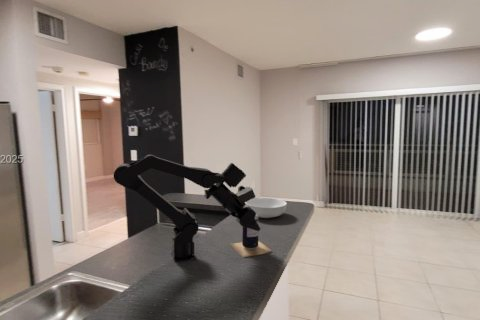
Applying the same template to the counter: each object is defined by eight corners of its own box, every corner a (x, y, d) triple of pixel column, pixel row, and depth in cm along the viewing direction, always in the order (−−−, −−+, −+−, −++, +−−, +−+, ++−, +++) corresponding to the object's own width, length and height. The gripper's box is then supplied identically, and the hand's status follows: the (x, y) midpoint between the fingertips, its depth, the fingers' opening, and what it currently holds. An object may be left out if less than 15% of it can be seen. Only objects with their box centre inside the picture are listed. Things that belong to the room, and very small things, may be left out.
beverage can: (259, 245, 107) (260, 213, 106) (255, 251, 102) (256, 217, 101) (245, 243, 109) (245, 211, 108) (240, 249, 104) (240, 215, 102)
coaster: (243, 257, 98) (243, 255, 98) (230, 245, 108) (230, 244, 108) (271, 252, 103) (271, 250, 103) (256, 241, 113) (256, 239, 113)
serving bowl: (285, 210, 157) (285, 198, 156) (287, 223, 136) (288, 208, 135) (246, 209, 159) (246, 196, 158) (242, 221, 138) (243, 206, 137)
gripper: (250, 185, 93) (281, 216, 97) (233, 176, 111) (260, 203, 115) (226, 211, 91) (258, 241, 96) (212, 197, 109) (240, 224, 113)
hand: (254, 225), depth 105 cm, fingers open, 9 cm apart
